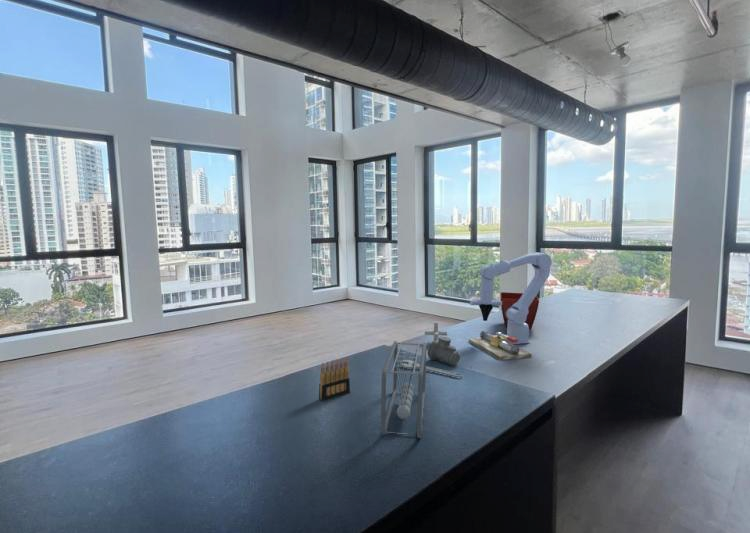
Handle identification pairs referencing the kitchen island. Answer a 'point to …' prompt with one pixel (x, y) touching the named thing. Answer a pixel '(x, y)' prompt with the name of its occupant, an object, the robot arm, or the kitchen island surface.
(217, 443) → the kitchen island surface
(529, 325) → the plant pot
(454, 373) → the adjustable wrench
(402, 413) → the newton's cradle
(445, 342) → the pipe fitting
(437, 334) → the pipe connector
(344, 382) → the ammunition clip
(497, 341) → the valve pipe
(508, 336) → the valve lever
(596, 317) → the kitchen island surface
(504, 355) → the valve board
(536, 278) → the robot arm
